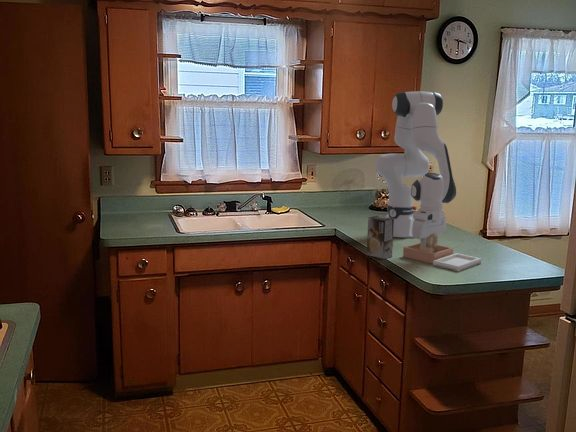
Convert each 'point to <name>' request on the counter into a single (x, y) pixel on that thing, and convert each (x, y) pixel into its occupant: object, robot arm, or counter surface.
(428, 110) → the robot arm
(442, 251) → the terracotta square frame
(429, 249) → the maple block
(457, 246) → the counter surface
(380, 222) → the coffee box
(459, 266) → the white tray
